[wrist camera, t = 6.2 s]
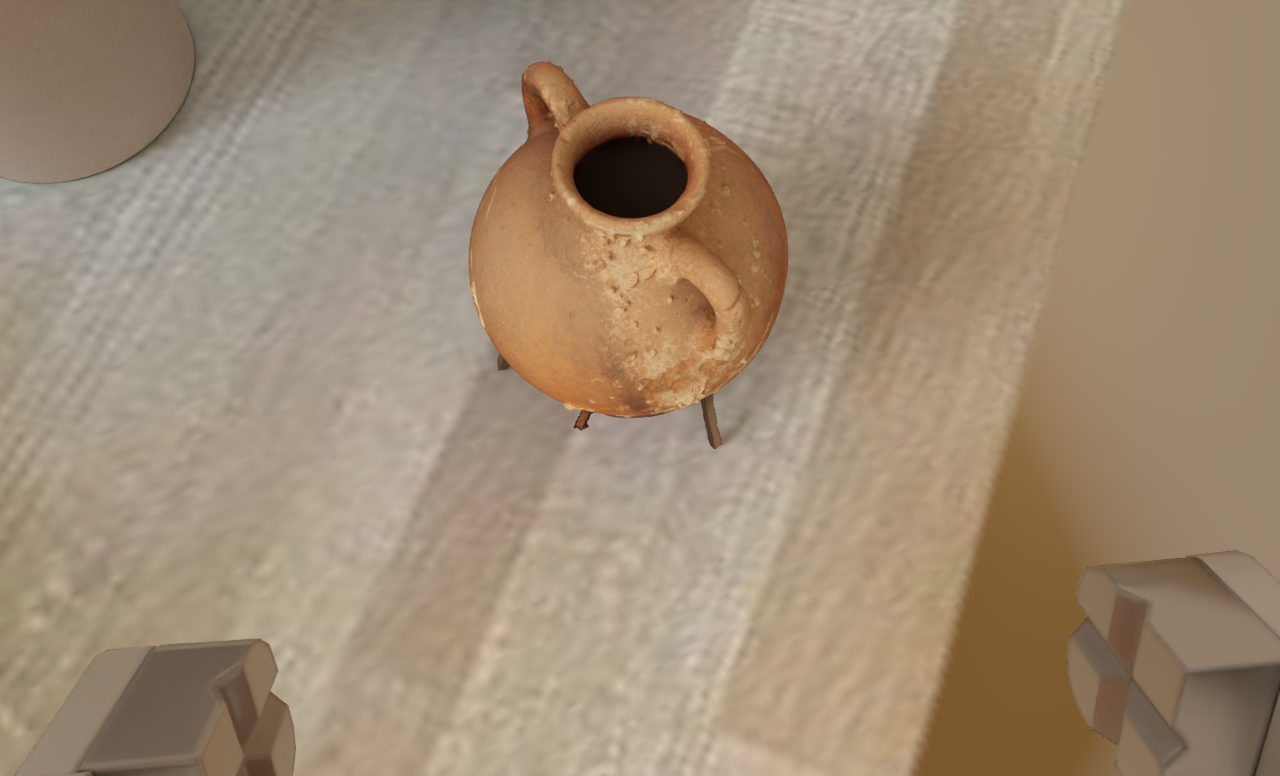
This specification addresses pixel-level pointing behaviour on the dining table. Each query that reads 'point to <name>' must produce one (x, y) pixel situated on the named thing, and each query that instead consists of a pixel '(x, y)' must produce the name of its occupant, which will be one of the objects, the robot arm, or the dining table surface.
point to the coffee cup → (87, 83)
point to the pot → (625, 255)
